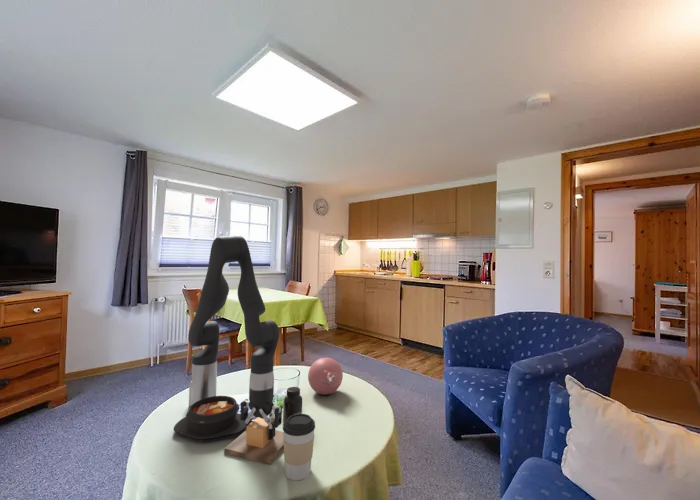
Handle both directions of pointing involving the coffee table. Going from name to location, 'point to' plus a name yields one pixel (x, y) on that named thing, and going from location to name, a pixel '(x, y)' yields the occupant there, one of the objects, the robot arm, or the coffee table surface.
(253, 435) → the peach cube
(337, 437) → the coffee table surface
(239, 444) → the post stand
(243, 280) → the robot arm
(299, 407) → the supplement bottle
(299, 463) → the coffee cup
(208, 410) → the casserole
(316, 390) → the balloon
